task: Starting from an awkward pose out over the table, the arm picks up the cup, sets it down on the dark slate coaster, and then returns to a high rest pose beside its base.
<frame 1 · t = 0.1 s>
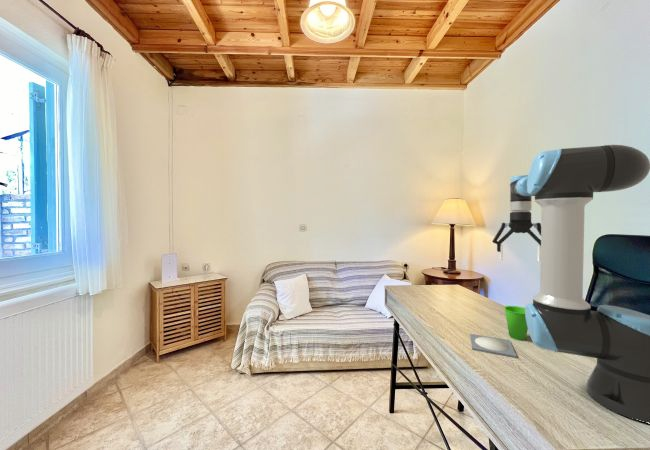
hand: (519, 260, 116), 28 cm above the table, fingers open, 13 cm apart
coaster: (491, 345, 97), on the table
cup: (517, 337, 103), on the table
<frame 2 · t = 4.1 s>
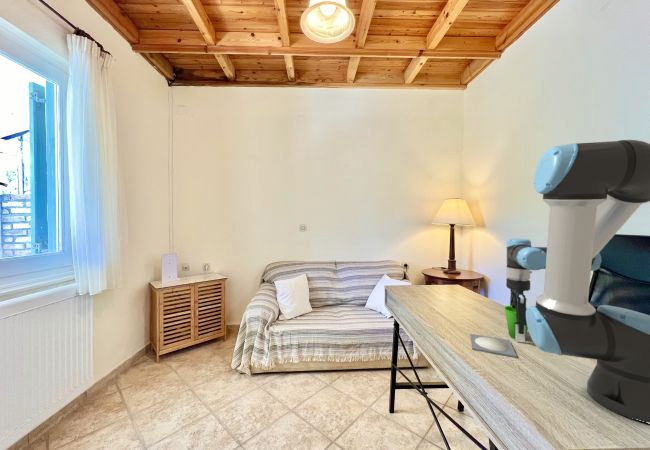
hand: (517, 336, 103), 0 cm above the table, fingers closed on cup, 9 cm apart
cup: (517, 337, 103), on the table, touching gripper
when the fingers open (2 cm above the table, at t = 9.3 s): cup drops 1 cm, resting on coaster.
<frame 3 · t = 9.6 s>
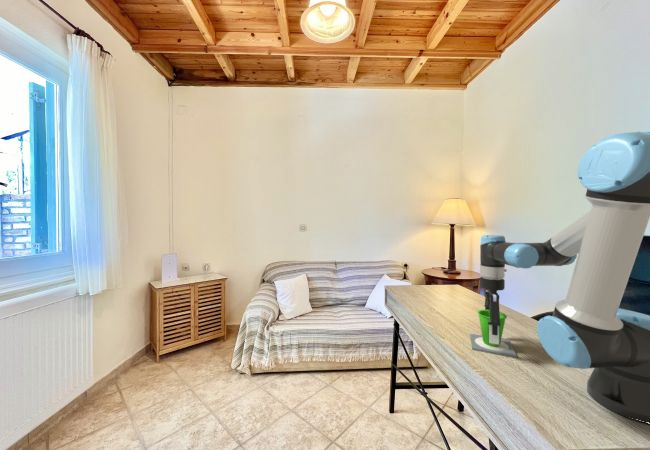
hand: (491, 335, 97), 4 cm above the table, fingers open, 13 cm apart
cup: (491, 344, 97), resting on coaster
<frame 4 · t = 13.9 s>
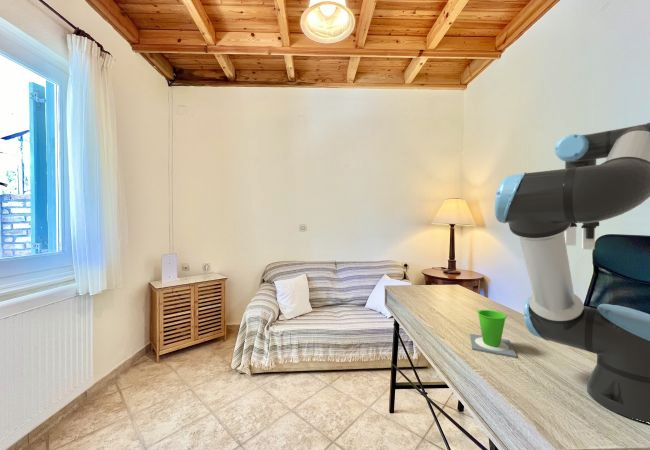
hand: (578, 247, 89), 37 cm above the table, fingers open, 13 cm apart
nothing on the table moved.
at the end: cup inside the target area on the coaster (0.0 cm from its centre), point 0.5 cm above the coaster's base; cup tilted 0°; the gripper is holding nothing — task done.
